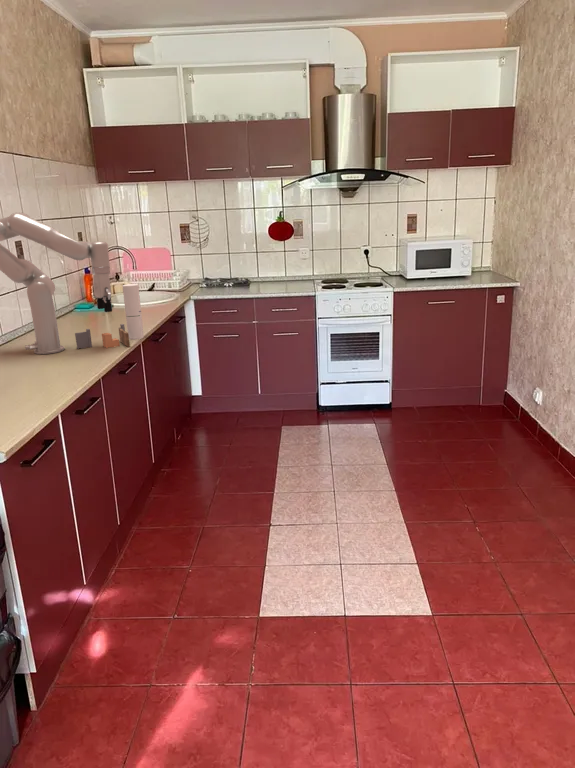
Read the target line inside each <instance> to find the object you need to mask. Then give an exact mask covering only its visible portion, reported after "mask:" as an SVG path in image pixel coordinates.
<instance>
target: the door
mask: <svg viewBox="0 0 575 768" xmlns="http://www.w3.org/2000/svg"><path fill="white" fill-rule="evenodd" d="M118 335H119V343H121V344H122V345H125V347H127V348H129V347H131V346H130V345H131V344H130V343H131V342H130V339H129V334H128V331H126V330H125V331H124V330H123V329H121V327H118Z"/></svg>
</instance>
